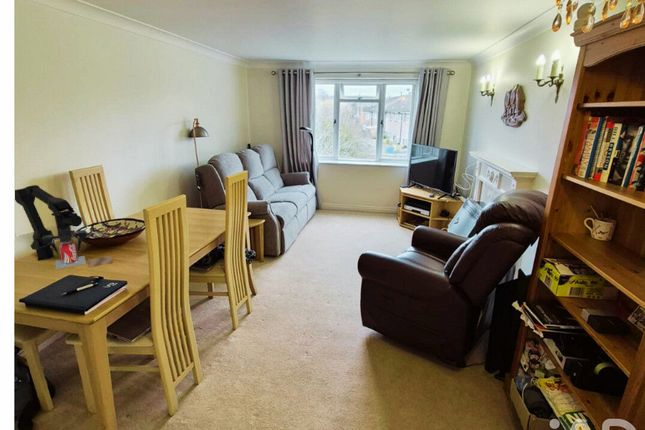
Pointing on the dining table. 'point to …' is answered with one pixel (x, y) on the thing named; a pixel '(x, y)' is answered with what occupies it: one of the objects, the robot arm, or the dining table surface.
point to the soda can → (68, 252)
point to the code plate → (80, 261)
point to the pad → (100, 261)
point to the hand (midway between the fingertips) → (68, 251)
